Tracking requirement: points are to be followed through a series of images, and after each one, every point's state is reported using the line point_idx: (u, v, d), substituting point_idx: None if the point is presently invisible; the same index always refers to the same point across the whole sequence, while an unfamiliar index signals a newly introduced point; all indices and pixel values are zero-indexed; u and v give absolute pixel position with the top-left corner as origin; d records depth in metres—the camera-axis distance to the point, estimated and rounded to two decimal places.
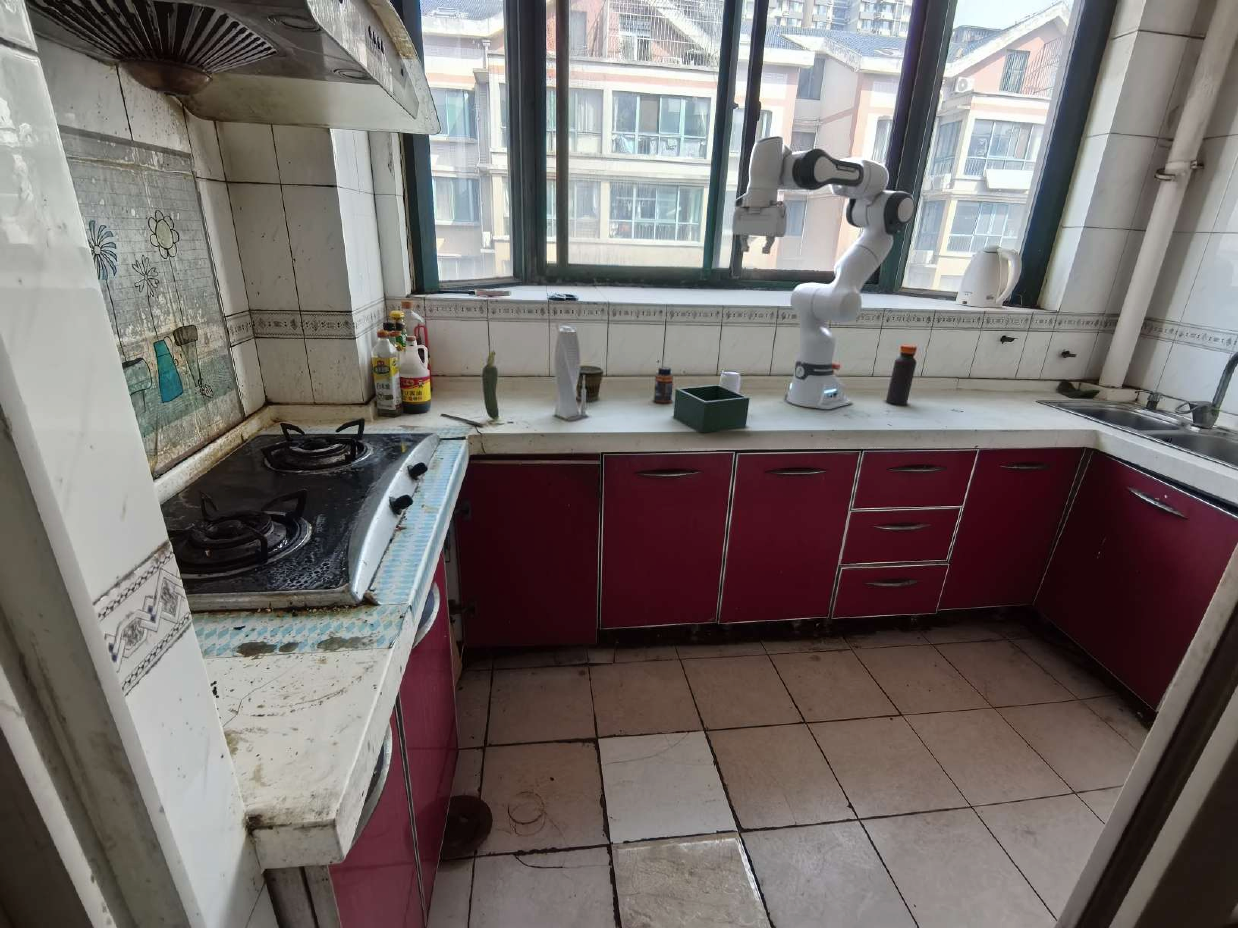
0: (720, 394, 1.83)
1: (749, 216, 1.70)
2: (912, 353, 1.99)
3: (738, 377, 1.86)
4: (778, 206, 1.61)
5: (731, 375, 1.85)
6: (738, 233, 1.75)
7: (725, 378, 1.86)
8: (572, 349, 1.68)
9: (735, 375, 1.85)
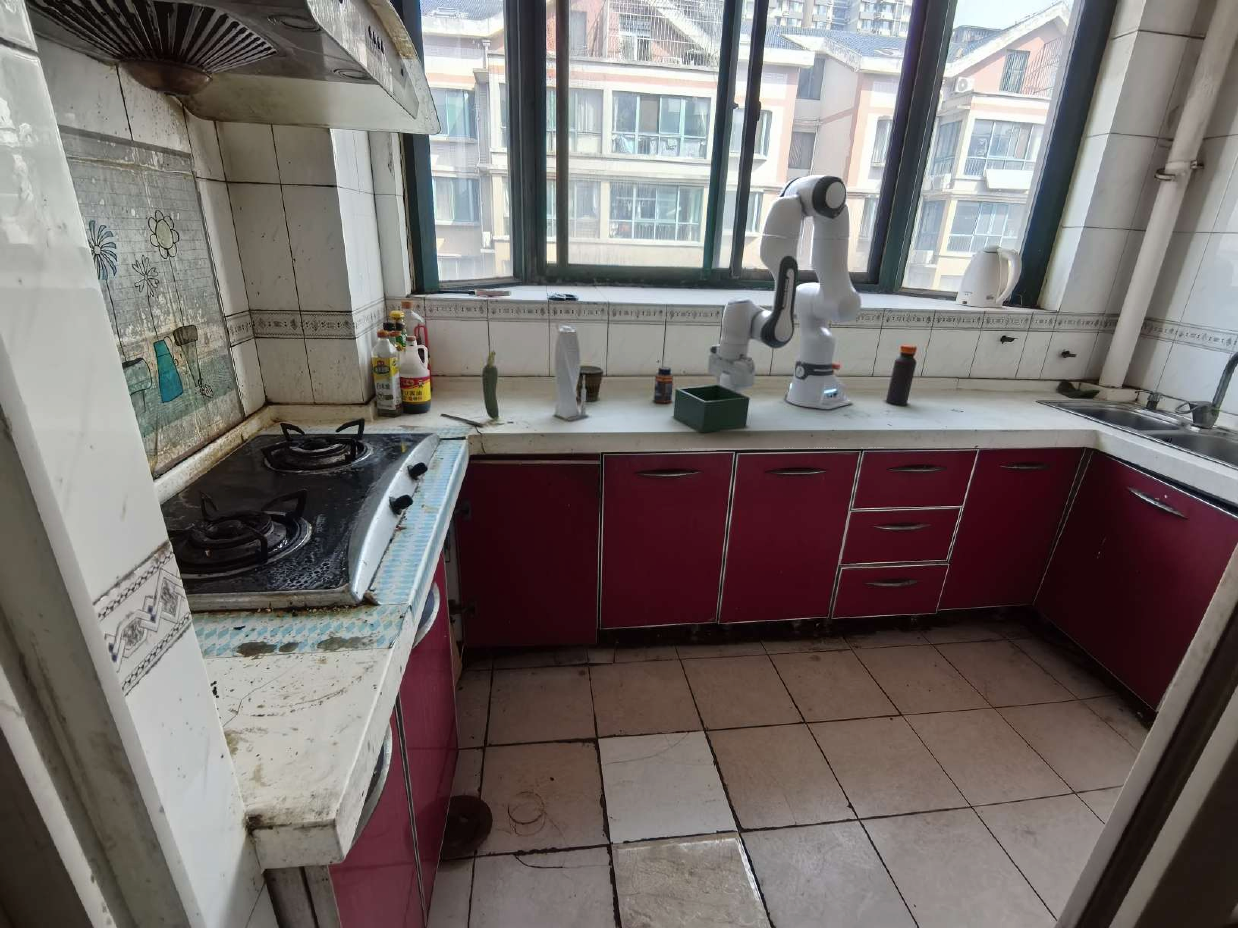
0: (720, 394, 1.83)
1: (722, 363, 1.88)
2: (912, 353, 1.99)
3: None
4: (747, 361, 1.79)
5: None
6: (713, 374, 1.93)
7: (725, 378, 1.86)
8: (572, 349, 1.68)
9: None
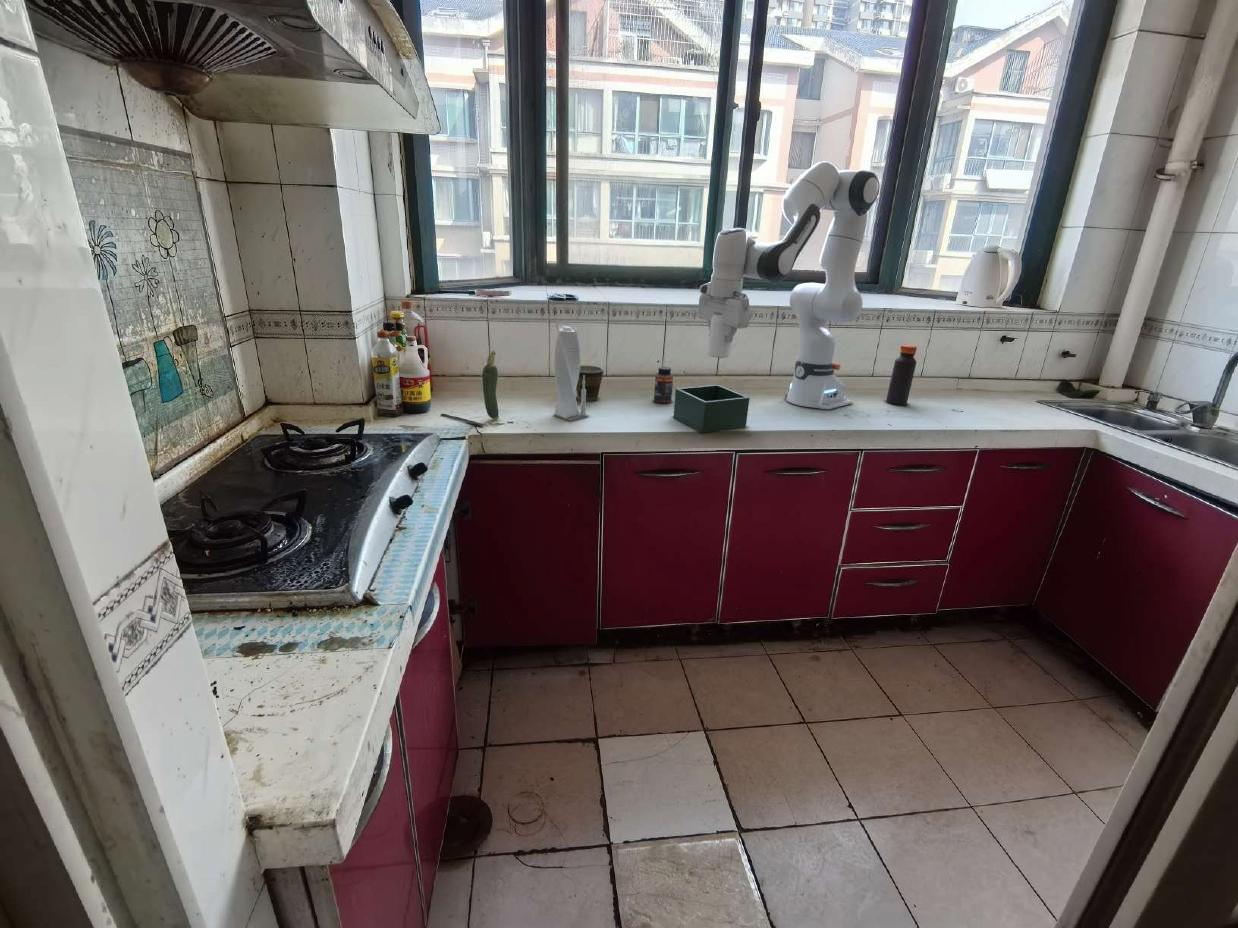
0: (720, 394, 1.83)
1: (713, 303, 1.69)
2: (912, 353, 1.99)
3: None
4: (741, 298, 1.60)
5: None
6: (704, 318, 1.74)
7: (717, 320, 1.67)
8: (572, 349, 1.68)
9: None
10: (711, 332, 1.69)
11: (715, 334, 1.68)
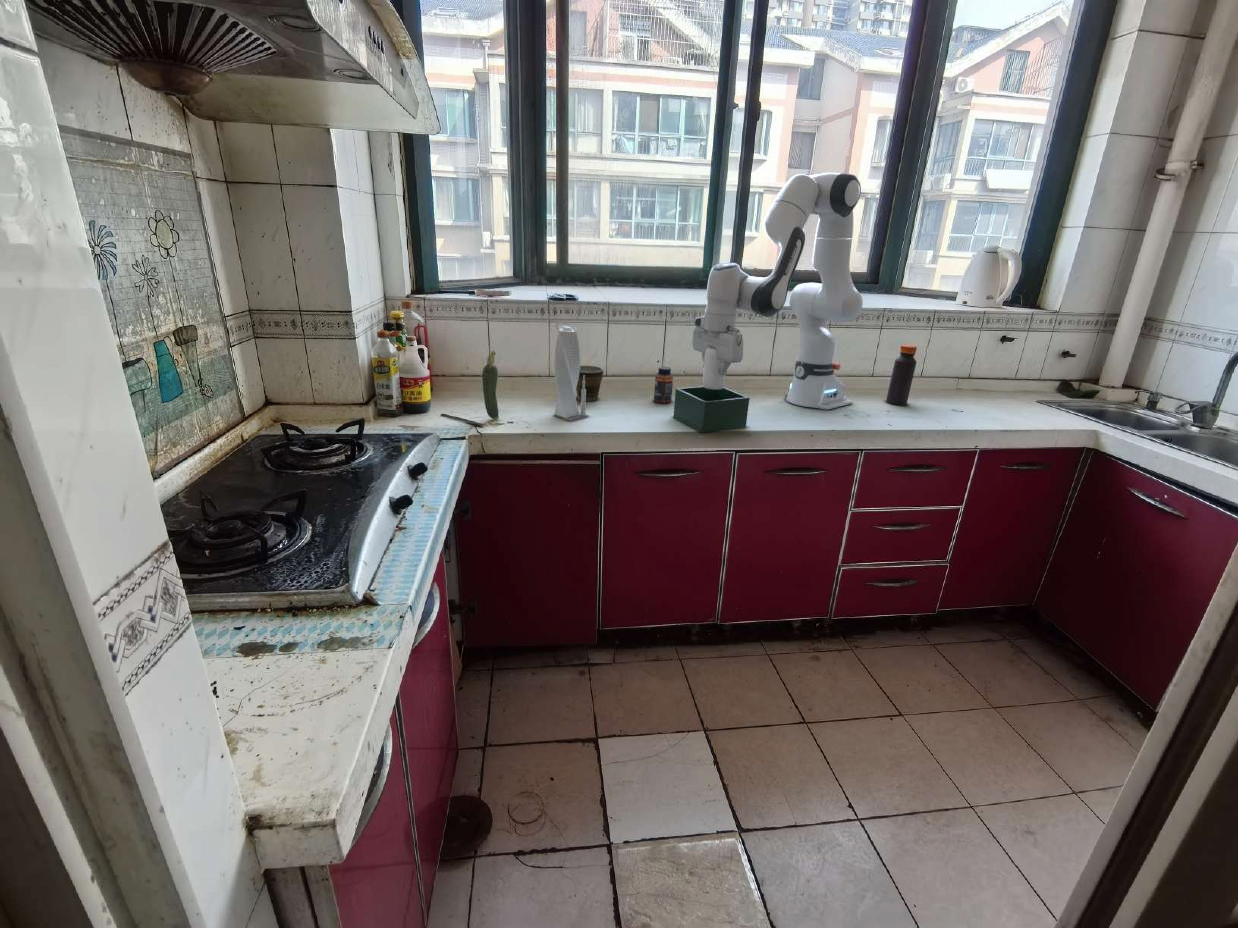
0: (720, 394, 1.83)
1: (707, 336, 1.70)
2: (912, 353, 1.99)
3: None
4: (734, 333, 1.61)
5: None
6: (698, 350, 1.75)
7: (711, 353, 1.68)
8: (572, 349, 1.68)
9: None
10: (705, 365, 1.70)
11: (709, 367, 1.69)
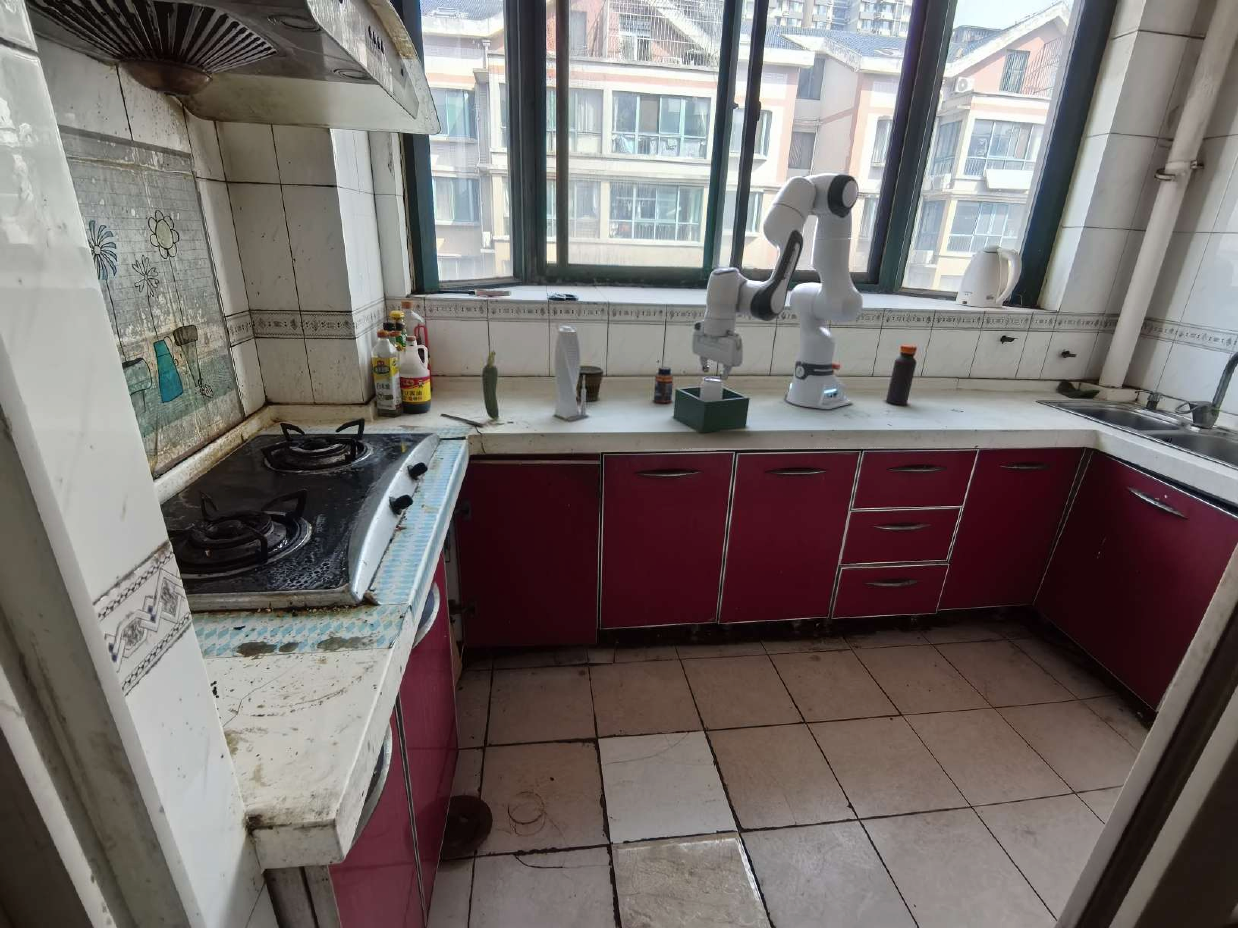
0: None
1: (707, 341, 1.71)
2: (912, 353, 1.99)
3: (720, 384, 1.72)
4: (734, 338, 1.61)
5: (712, 382, 1.71)
6: (698, 354, 1.76)
7: (706, 385, 1.72)
8: (572, 349, 1.68)
9: (716, 382, 1.71)
10: (701, 396, 1.74)
11: (704, 398, 1.73)
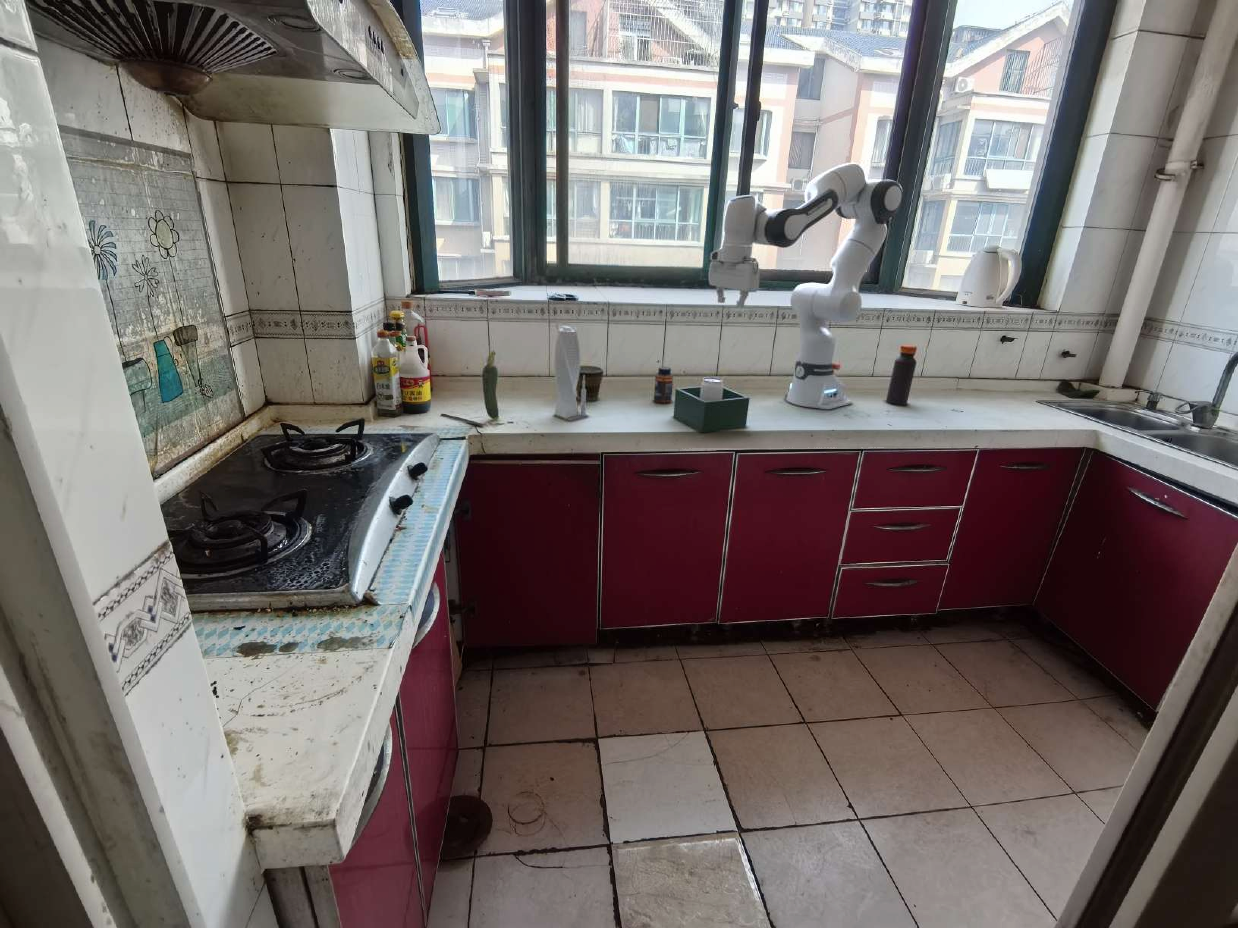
0: None
1: (724, 270, 1.75)
2: (912, 353, 1.99)
3: (720, 385, 1.72)
4: (751, 263, 1.66)
5: (712, 383, 1.71)
6: (714, 284, 1.80)
7: (706, 386, 1.72)
8: (572, 349, 1.68)
9: (716, 383, 1.71)
10: (701, 397, 1.74)
11: (704, 399, 1.73)
